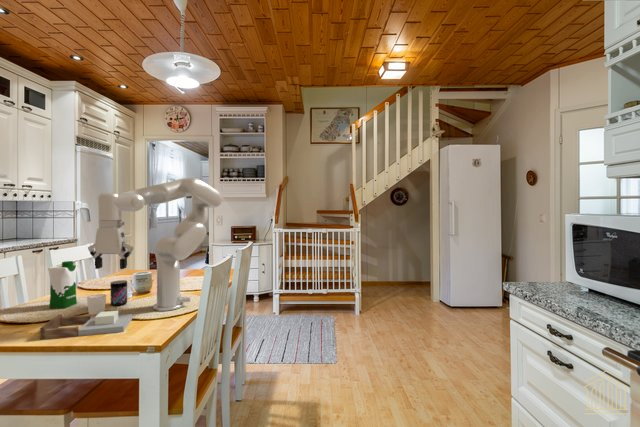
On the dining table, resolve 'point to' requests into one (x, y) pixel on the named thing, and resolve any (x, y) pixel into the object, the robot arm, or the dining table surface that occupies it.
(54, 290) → the milk carton
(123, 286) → the supplement container
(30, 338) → the dining table surface
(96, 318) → the off-white flat block
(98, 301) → the white cup
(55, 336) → the box
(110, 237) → the robot arm
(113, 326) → the plate
